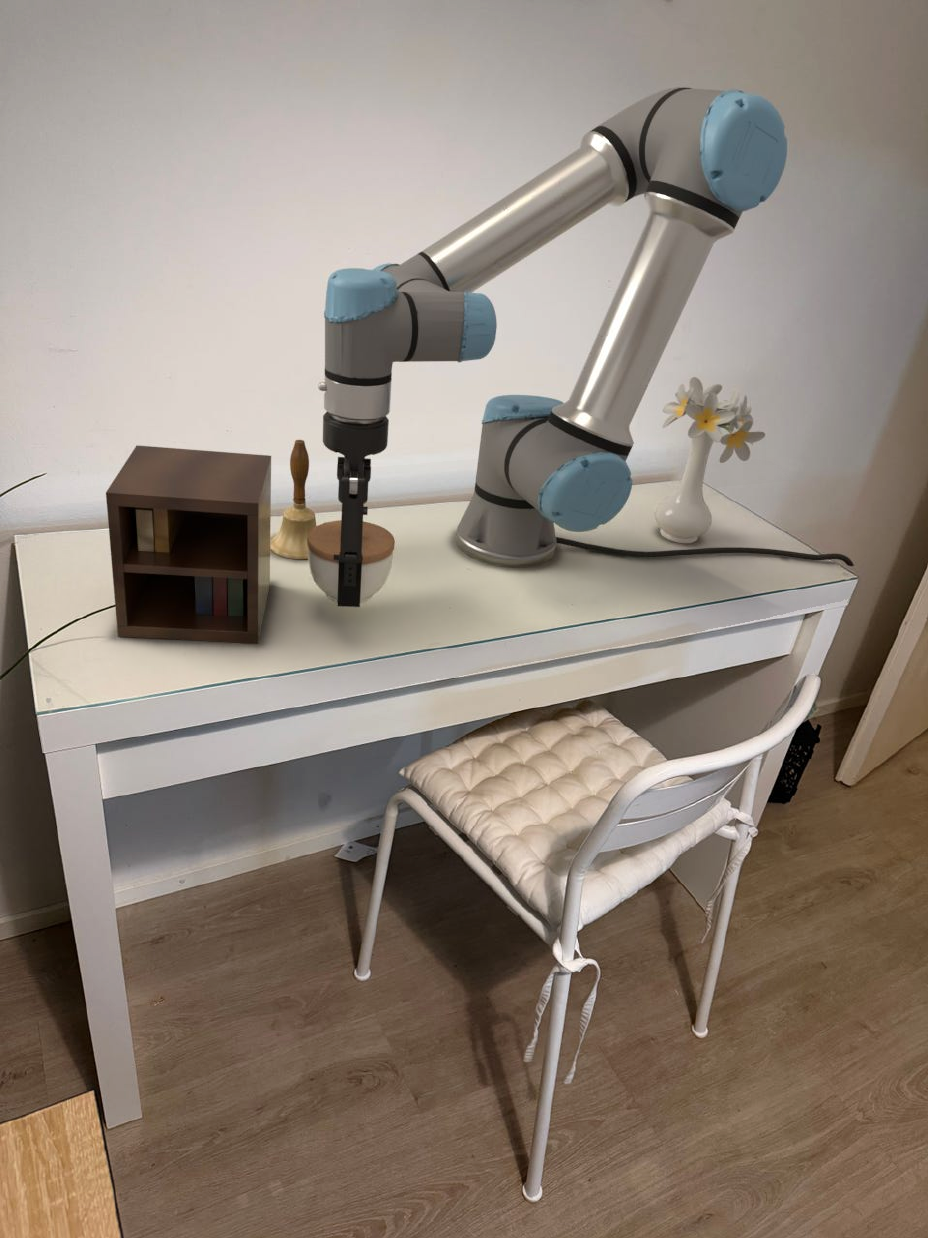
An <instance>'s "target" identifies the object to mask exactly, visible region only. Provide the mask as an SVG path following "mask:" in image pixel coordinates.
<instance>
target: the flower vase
mask: <svg viewBox="0 0 928 1238" xmlns="http://www.w3.org/2000/svg"><path fill="white" fill-rule="evenodd" d="M688 383H689V384H688V385H689V386H688V387H689V389H688V390H687V391H686V387H685V384H684V383H681V384H680V385H679V386H678V388H677V391H676V392H675V394H674V396H675V398H676V399H677V401H669V402H668V403H666V404H665V405H664V406H663V408H662V413H664V414H666V415H667V414H668V415H670V416H668V417H667V418H666V419H665V421H664V422H663V425H662V428H663V429H664V428H667V427H668V426H670V425H671V424H672V423H673V422H676V421H677V420H679V419H681V418H682V417H685V416H686V415H687V416H688V417H689V418H691V419H692V420H693V421H692V423H691V426H689V428H688V430H687V436H688V437H689V438H690V439H691V444H690V450H689V455H688V458H687V461H686V465H685V469H684V472H683V475H682V478H681V480H680V482H679V484H678V486H677V487H676V489H675V490H674V492H672V493H671V494H670V495H669V496H667V497H665V498H664V499H662V500H661V502H659V503H658V505H657V506H656V508H655V510H654V520H655V522H656V524H657V526H658V527H659V528H660V530H659V531H660V534H661V536H662V537H663V538H665V539H667V540H668V541H671V542H674V543H679V544H692V543H695V542H696V541H697V540H698V538H699V537H700V536H702V535H705V533H707V532H708V531H710V529H711V526H712V524H713V516H712V513H711V510H710V508H709V506H708V504H707V503H706V501H705V499H704V491H703V487H704V486H703V484H704V479H705V473H706V468H707V464H708V460H709V455H710V452H711V450H712V447H713V444H714V443H720V444H721V445H723V446H725V447H724V449H723V451H722V453H721V455H720V457H719V460H718V461H719V463H720V464H724V463H726V462H727V461H728V460H729V459H730V458H731V457H732V456H733V454H734V452H735V455H736V456H737V458H738V459H739V460H740V461H742V462H747V461H748V460H749V459H750V457H751V449H750V447H749V445H748V443H749V444H750V445H752V446H753V445H754V443H757V442H759V441H761V440H763V439H764V438H765V437H766V433H765V432H764V431H759V430H758V431H750V430H752V427H753V425H754V417H753V416H752V415H751V412H752V406H751V404H748V398H747V395H745V394H744V396H743V399H742V401H741V402H740V391H739V388H738V387H735V388H734V389H733V391H732V393H731V396H730V399H729V401H728V400H724V401H719V398H718V395H719V394H720V393H721V391H722V390H723V385H722V384H719V383H716V384H712V385H710V386H708V387H707V388H706V389H704V387H703V384H702V381H701V380H700V379H699V378H698V377H697V376H693V377H691V378H690V379H689V382H688ZM739 402H740V403H739ZM722 429H724V430H726V431H727V432H728V433H726V434H724V435H723V431H722Z"/></svg>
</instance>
